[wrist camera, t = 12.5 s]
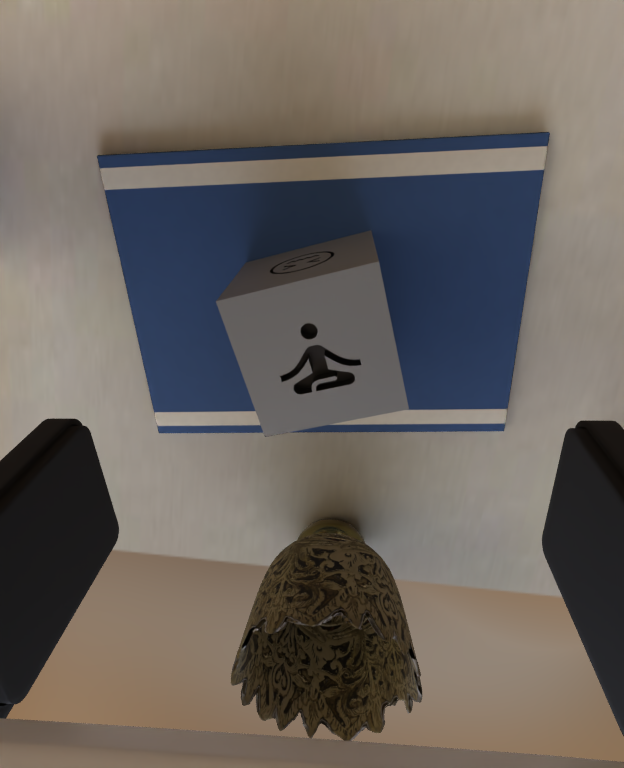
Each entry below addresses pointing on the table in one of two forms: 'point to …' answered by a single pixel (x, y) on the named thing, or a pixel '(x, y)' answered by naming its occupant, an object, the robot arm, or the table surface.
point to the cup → (328, 637)
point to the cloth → (321, 224)
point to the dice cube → (315, 336)
